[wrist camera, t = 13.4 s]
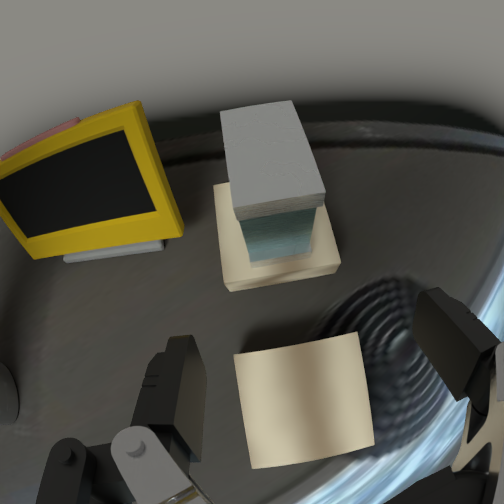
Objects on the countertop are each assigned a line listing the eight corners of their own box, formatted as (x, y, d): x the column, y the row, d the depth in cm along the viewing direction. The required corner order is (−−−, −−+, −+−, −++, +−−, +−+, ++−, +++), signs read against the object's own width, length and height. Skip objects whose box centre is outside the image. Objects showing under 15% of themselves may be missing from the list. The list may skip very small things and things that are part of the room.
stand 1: (230, 291, 27) (223, 283, 24) (219, 201, 31) (213, 185, 28) (335, 272, 26) (341, 262, 24) (310, 185, 30) (313, 168, 27)
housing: (251, 268, 24) (232, 207, 15) (239, 189, 27) (219, 111, 18) (310, 257, 24) (325, 192, 15) (290, 181, 27) (291, 100, 18)
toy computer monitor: (50, 269, 30) (-40, 213, 15) (60, 215, 33) (-13, 149, 18) (193, 251, 29) (119, 147, 14) (194, 187, 32) (142, 74, 17)
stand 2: (255, 457, 21) (252, 468, 18) (239, 355, 24) (233, 354, 22) (364, 436, 20) (374, 444, 18) (348, 335, 24) (357, 331, 21)
